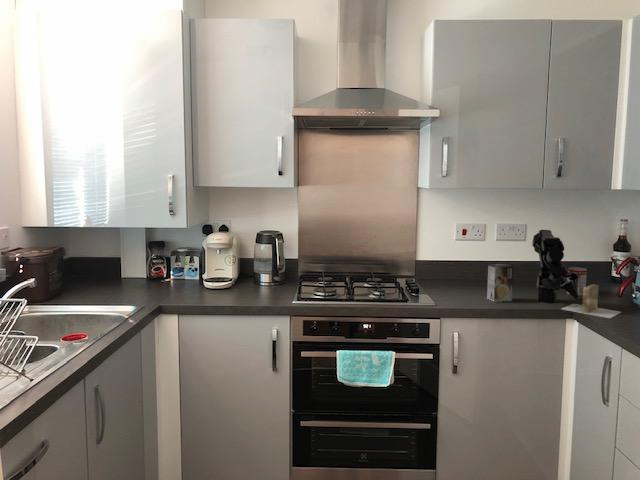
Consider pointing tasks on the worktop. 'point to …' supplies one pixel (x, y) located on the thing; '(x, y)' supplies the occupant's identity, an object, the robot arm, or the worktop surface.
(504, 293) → the coffee box
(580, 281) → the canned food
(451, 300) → the worktop surface
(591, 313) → the mat
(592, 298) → the plaque
